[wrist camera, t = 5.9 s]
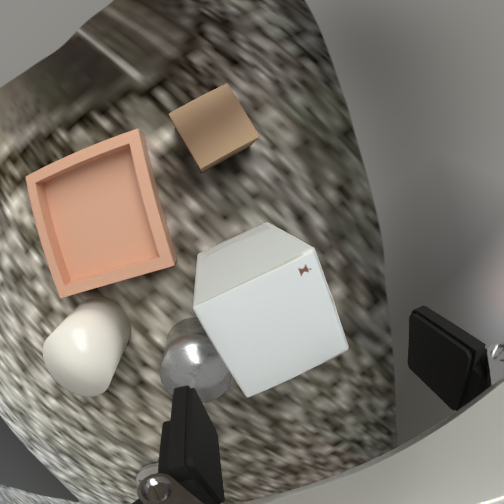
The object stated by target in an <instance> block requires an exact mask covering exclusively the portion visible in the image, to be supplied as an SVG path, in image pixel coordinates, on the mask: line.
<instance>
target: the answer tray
mask: <svg viewBox="0 0 504 504" xmlns="http://www.w3.org/2000/svg"><path fill="white" fill-rule="evenodd" d="M26 181H27V186H28V192H29V196H30V201H31V205H32V210H33V214H34V218H35V222H36V226H37V229H38V233H39V237H40V240H41V243H42V247H43V250H44V253H45V256H46V260H47V263H48V266H49V269H50V271H51V274H52V277H53V280H54V283H55V285H56V288H57V291H58V293H59V296H60V298H63V297H67V296H70V295H74V294H77V293H80V292H84V291H87V290H91V289H94V288H98V287H101V286H105V285H108V284H112V283H115V282H119V281H122V280H126V279H129V278H133V277H136V276H140V275H143V274H147V273H150V272H154V271H157V270H161V269H164V268H168V267H171V266H174V265H175V263H176V260H177V257H176V254H175V250H174V247H173V244H172V240H171V237H170V234H169V230H168V227H167V223H166V220H165V216H164V212H163V209H162V205H161V201H160V198H159V194H158V190H157V186H156V182H155V178H154V174H153V170H152V166H151V162H150V158H149V154H148V149H147V145H146V141H145V136H144V134H143V133H142V132H141V131H140V130H139V129H135V130H132V131H130V132H127V133H124V134H121V135H118V136H116V137H113V138H110V139H108V140H105V141H102V142H100V143H97V144H95V145H92V146H90V147H88V148H85V149H83V150H80V151H78V152H76V153H73V154H71V155H69V156H67V157H65V158H62V159H60V160H58V161H56V162H54V163H52V164H50V165H48V166H46V167H44V168H42V169H40V170H38V171H36V172H34V173H32V174H30V175H28V176H26Z"/></svg>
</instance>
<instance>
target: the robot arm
mask: <svg viewBox="0 0 504 504" xmlns="http://www.w3.org/2000/svg"><path fill="white" fill-rule="evenodd" d="M408 366H409V368H410V369H411V370H412V371H413V372H414V373H415V374H416V375H417V376H418V377H419V378H420V379H421V380H422V381H423V382H424V383H425V384H426V385H427V386H428V387H429V388H430V389H431V390H432V391H434V392H435V393H436V394H437V395H438V396H439V397H440V398H441V399H442V400H443V401H444V402H445V403H446V404H447V405H448V406H449V407H450V408H451V409H452V410H456V412H455V413H454V414H452V415H451V416H449V417H448V418H446V419H445V420H443V421H442V422H440V423H438V424H437V425H435V426H434V427H432V428H431V429H429V430H427V431H425V432H424V433H422V434H420V435H419V436H417V437H416V438H414V439H412V440H410V441H408V442H406V443H405V444H403V445H401V446H399V447H397V448H395V449H393V450H391V451H389V452H387V453H385V454H383V455H381V456H379V457H377V458H375V459H373V460H371V461H368V462H366V463H364V464H362V465H359V466H357V467H355V468H352V469H350V470H347V471H345V472H343V473H340V474H337V475H335V476H332V477H329V478H327V479H324V480H321V481H318V482H315V483H312V484H309V485H306V486H303V487H300V488H296V489H293V490H290V491H286V492H283V493H279V494H275V495H272V496H268V497H264V498H260V499H255V500H251V501H247V502H243V503H238V504H504V342H497V343H494V344H492V345H491V346H490V347H489V348H488V350H487V349H485V344H484V343H482V342H481V341H479V340H478V339H476V338H475V337H473V336H472V335H470V334H469V333H467V332H466V331H464V330H463V329H461V328H459V327H458V326H456V325H455V324H453V323H452V322H450V321H448V320H447V319H445V318H444V317H442V316H440V315H439V314H437V313H435V312H434V311H432V310H431V309H429V308H428V307H426V306H421V307H419V308H417V309H415V310H413V311H412V313H411V315H410V317H409V349H408ZM136 482H137V485H138V489H137V494H138V497H139V499H138V500H136V501H135V502H134V503H132V504H220V503H222V502H224V501H225V498H224V490H223V481H222V472H221V463H220V453H219V443H218V435H217V432H216V429H215V427H214V426H213V424H212V422H211V420H210V418H209V416H208V414H207V412H206V410H205V408H204V406H203V404H202V402H201V400H200V398H199V396H198V394H197V392H196V390H195V388H190V387H189V386H188V385H187V386H182V387H177V388H174V392H173V402H172V411H171V421H166V422H164V423H163V427H162V435H161V444H160V454H159V463H153V464H149V465H147V466H144V467H143V468H141V469H140V470H139V471H138V473H137V477H136Z"/></svg>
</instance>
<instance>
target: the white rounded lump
mask: <svg viewBox="0 0 504 504" xmlns="http://www.w3.org/2000/svg"><path fill="white" fill-rule="evenodd" d="M130 335H131V326H130V322H129V319H128V317H127V315H126V313H125V312H124V310H123V309H122V308H121V307H120V306H119V305H118V304H116V303H115V302H114V301H112V300H110V299H108V298H105V297H99V296H95V297H90V298H87V299H85V300H84V301H83V302H81V303H80V304H79V305H78V307H77V308H76V309H75V310H74V311H73V312H72V313H71V314H70V315H69V316H68V317H67V318H66V319H65V320H64V321H63V322H62V323H61V324H60V325H59V326H58V327H57V328H56V329H55V330H54V331H53V333H52V334H51V335H50V336H49V337H48V338H47V339H46V341H45V343H44V346H43V358H44V362H45V364H46V367H47V369H48V371H49V372H50V374H51V375H52V377H53V378H54V379H55V380H56V381H57V382H58V383H59V384H60V385H61V386H63V387H64V388H65V389H67V390H69V391H70V392H72V393H75V394H77V395H81V396H88V397H91V396H97V395H100V394H102V393H103V392H105V391H106V389H107V388H108V387H109V385H110V382H111V380H112V377H113V375H114V373H115V370H116V368H117V366H118V363H119V361H120V359H121V356H122V354H123V352H124V350H125V347H126V345H127V343H128V341H129V338H130Z"/></svg>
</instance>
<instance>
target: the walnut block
mask: <svg viewBox="0 0 504 504" xmlns="http://www.w3.org/2000/svg"><path fill="white" fill-rule="evenodd" d="M169 116H170V118H171V120H172V122H173V124H174V126H175V128H176V130H177V131H178V133H179V135H180V136H181V138H182V140H183V142H184V143H185V145H186V147H187V148H188V150H189V152H190V154H191V155H192V157H193V159H194V160H195V162H196V164H197V166H198V167H199V169H200V171H201V172H202V173H203V172H205V171H206V170H208V169H210V168H212V167H213V166H215V165H217V164H219V163H220V162H222V161H224V160H226V159H228V158H229V157H231V156H233V155H235V154H237V153H238V152H240V151H242V150H244V149H246V148H248V147H250V146H251V145H252V144H253V143H254V142H255V141H256V140H257V139H258V138H259V135H258V133H257V131H256V130H255V128H254V126H253V125H252V123H251V121H250V120H249V118H248V116H247V115H246V113H245V111H244V110H243V108H242V106H241V105H240V103H239V101H238V100H237V98H236V96H235V95H234V93H233V92H232V90H231V88H230V87H229V85H228V84H225V85H223V86H221V87H218V88H216V89H214V90H212V91H210V92H208V93H206V94H204V95H202V96H200V97H199V98H197V99H195V100H193V101H191V102H189V103H187V104H185V105H184V106H182V107H180V108H178V109H176V110H175V111H173V112H171V113H169Z"/></svg>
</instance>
